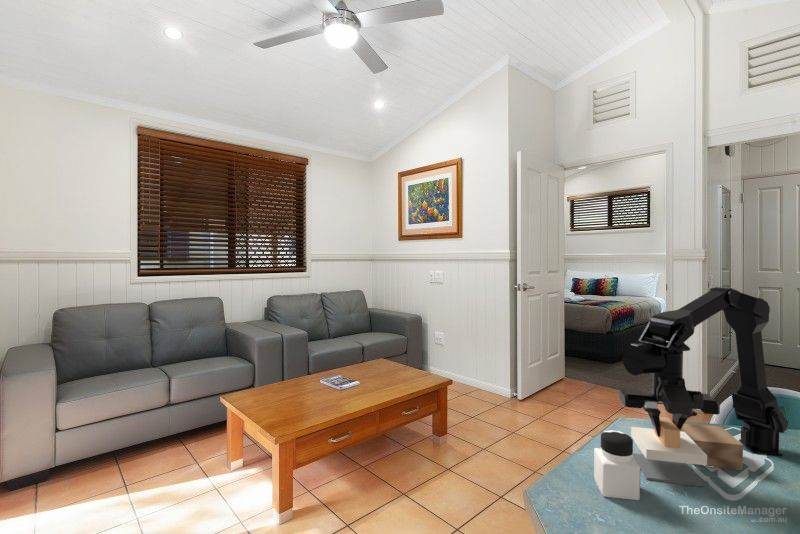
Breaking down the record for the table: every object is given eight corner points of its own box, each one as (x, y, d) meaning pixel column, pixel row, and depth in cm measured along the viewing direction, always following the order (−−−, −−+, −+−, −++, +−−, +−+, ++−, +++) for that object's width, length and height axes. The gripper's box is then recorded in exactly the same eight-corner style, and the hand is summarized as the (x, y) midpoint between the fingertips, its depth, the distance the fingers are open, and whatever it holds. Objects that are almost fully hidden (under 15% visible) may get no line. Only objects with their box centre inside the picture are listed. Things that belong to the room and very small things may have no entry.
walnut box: (720, 449, 103) (721, 426, 103) (742, 470, 94) (743, 444, 93) (675, 445, 106) (676, 422, 106) (692, 464, 96) (693, 440, 96)
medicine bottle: (640, 501, 83) (641, 443, 82) (602, 497, 84) (603, 440, 84) (628, 481, 90) (629, 428, 89) (593, 478, 91) (594, 425, 91)
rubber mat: (682, 460, 98) (682, 458, 98) (703, 486, 88) (703, 484, 87) (632, 455, 101) (632, 453, 101) (646, 479, 90) (646, 477, 90)
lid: (684, 440, 98) (684, 415, 98) (707, 465, 87) (707, 437, 87) (630, 435, 101) (631, 411, 101) (646, 458, 90) (646, 431, 90)
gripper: (632, 378, 88) (631, 449, 89) (734, 385, 83) (732, 459, 84) (619, 364, 99) (618, 427, 99) (708, 369, 94) (706, 435, 94)
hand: (666, 436), depth 94 cm, fingers closed on lid, 3 cm apart
